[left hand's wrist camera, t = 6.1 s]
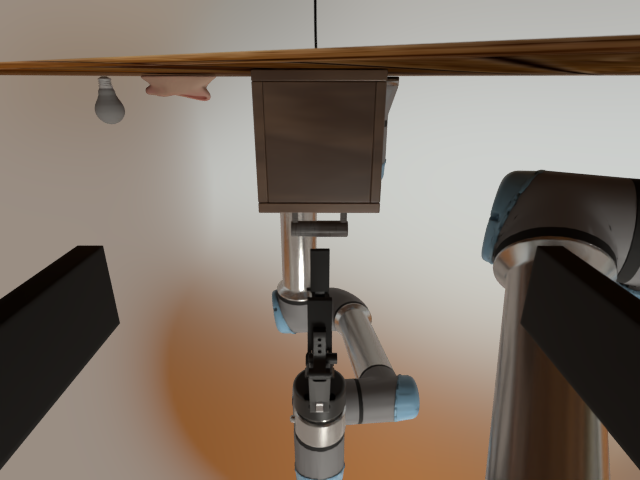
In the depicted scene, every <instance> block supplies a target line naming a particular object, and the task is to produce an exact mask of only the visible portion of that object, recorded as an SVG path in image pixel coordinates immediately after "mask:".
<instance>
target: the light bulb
mask: <svg viewBox="0 0 640 480" xmlns="http://www.w3.org/2000/svg"><path fill="white" fill-rule="evenodd" d="M98 80H99V84H100V86H99V91H98V94H99V95H98V99H97V101H96V104H95V112H96V115H97V116H98V117H99V118H100V119H101V120H102V121H103V122H105V123H109V124H116V123H118V122H120V121H121V120H122V119H123V117H124V115H125V109H124V106H123V104H122V103H121V102H120V100H119V99H118V97H117V96H116V94H115V91H114V89H113V87H112V85H111V81H110V80H111V79H110V78H108V77H105V76H102V77H100V78H98Z"/></svg>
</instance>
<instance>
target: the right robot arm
mask: <svg viewBox="0 0 640 480" xmlns="http://www.w3.org/2000/svg"><path fill="white" fill-rule="evenodd" d="M314 43H315V48H317V0H314ZM386 82H387V91H386V107H385V124H384V141H383V158H382V175H381V179H382V178H383V175H384V166H385V163H386V159H385V155H386V137H387V119H388V113H389V110H390V107H391V105H392V102H393V99H394V97H395V94H396V91H397V89H398V85H399V77H387V81H386ZM280 217H281V243H282V271H283V280H282V281H281V282H280V283H279V284H278V287H277V290H275V291H273V293H272V302H273V309H274V317H275V322H276V326H277V329H278V330H279V331H280V332H282V333H292V334H296V333H298V332H308V352H307V354H306V368H305V370H303V371H302V372H300V373H299V374H298V375H297V377H296V378H295V380H294V383H293V396H292V405H293V415H291V416H290V421H291V422H294V443H295V471H296V477H297V480H342V478H343V471H344V468H345V463H344V432H345V425H351V424H363V423H379V422H397V421H401V420H407V419H413V418H415V417H416V416H417V415H418V412H419V393H418V388H417V385H416V383H415V381H414V379H413V378H412V377H410V376H408V375H401V374H399V375H398V376H396V374H395V372H394V371H393V369H392V366H391V364H390V362H389V360H388V358H387V356H386V354H385V352H384V350H383V348H382V346H381V344H380V342H379V340H378V338H377V335H376V333H375V331H374V329H373V327H372V325H371V322H372V318H371V314H370V312H369V310H368V308H367V307H366V305H365V304H364V303H363V302H362V301H361V300H360V299H359V298H357V297H356V296H354V295H353V294H351V293H349V292H347V291H344V290H341V289H338V288H329V251H330V250H329V249H316V237H292V236H291V221H292V213H280ZM316 218H317V213H298V221H316ZM332 331H338V333H339V334H341V335H342V336H343V340H344V343H345V346H346V349H347V352H348V355H349V358H350V362H351V365H352V368H353V371H354V374H355V377H356V379H344V378H343V376H342V375H341V374H340V373H339V372H338V371H336V370H334V368H333V366H334V364H337V353H332ZM311 350H312V353H311Z"/></svg>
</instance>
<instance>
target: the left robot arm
mask: <svg viewBox="0 0 640 480" xmlns="http://www.w3.org/2000/svg"><path fill="white" fill-rule="evenodd" d="M482 258H483V260H485V261H487V262H489V263H491V264H493V271H494V275H495V278H496V279H497V281H498V282H499V283H500V284H501V285H502V286H503V287H504V288H505V297H504V307H503V316H502V326H501V335H500V345H499V354H498V364H497V373H496V382H495V392H494V401H493V411H492V420H491V430H490V439H489V449H488V458H487V468H486V477H485V480H610V464H609V446H608V432H609V433H610V434H611V435H612V436H613V438H614V439H615V440H616V441H617V443H618V444H619V445H620V446H621V448H622V449H623V450H624V451H625V452H626V454H627V455H628V456H629V457H630V459H631V460H632V461H633V462H634V463H635V465H636V466H637V467H638V468H639V470H640V179H632V178H620V177H609V176H598V175H587V174H576V173H565V172H554V171H545V170H538V171H514V172H511V173H509V174H507V175H506V176H505V177H504V178H503V180H502V182H501V184H500V186H499V189H498V191H497V194H496V197H495V200H494V203H493V207H492V210H491V217H490V218H489V222H488V225H487V228H486V233H485V237H484V242H483V247H482ZM119 324H120V322H119V317H118V313H117V308H116V303H115V299H114V294H113V290H112V285H111V280H110V276H109V271H108V267H107V262H106V258H105V253H104V248H103V246H76V247H75V248H74V249H72V250H71V251H69V252H68V253H66V254H65V255H63V256H62V257H61V258H59V259H58V260H56V261H55V262H53V263H52V264H50V265H49V266H48V267H46V268H45V269H43V270H42V271H40V272H39V273H37V274H36V275H35V276H33V277H32V278H30V279H29V280H27V281H26V282H24V283H23V284H21V285H20V286H19V287H17V288H16V289H14V290H13V291H11V292H10V293H9V294H7V295H6V296H4V297H3V298H1V299H0V470H1V468H2V467H3V466H4V465H5V463H6V462H7V461H8V460H9V459H10V457H11V456H12V455H13V454H14V452H15V451H16V450H17V449H18V448H19V446H20V445H21V444H22V443H23V441H24V440H25V439H26V438H27V436H28V435H29V434H30V433H31V432H32V430H33V429H34V428H35V427H36V425H37V424H38V423H39V422H40V421H41V419H42V418H43V417H44V416H45V414H46V413H47V412H48V411H49V410H50V408H51V407H52V406H53V405H54V403H55V402H56V401H57V400H58V398H59V397H60V396H61V395H62V393H63V392H64V391H65V390H66V389H67V387H68V386H69V385H70V384H71V382H72V381H73V380H74V379H75V378H76V376H77V375H78V374H79V373H80V371H81V370H82V369H83V368H84V366H85V365H86V364H87V363H88V362H89V360H90V359H91V358H92V357H93V356H94V354H95V353H96V352H97V351H98V349H99V348H100V347H101V346H102V344H103V343H104V342H105V341H106V340H107V338H108V337H109V336H110V335H111V333H112V332H113V331H114V330H115V329H116V327H117V326H118V325H119Z"/></svg>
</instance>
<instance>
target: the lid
mask: <svg viewBox="0 0 640 480" xmlns="http://www.w3.org/2000/svg"><path fill="white" fill-rule="evenodd" d="M379 210H380V203H371V202H369V203H292V202H259V212H260V213H292V221H291V236H292V237H347V236H348V222H347V213H379ZM298 213H341V214H340V221H298Z"/></svg>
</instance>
